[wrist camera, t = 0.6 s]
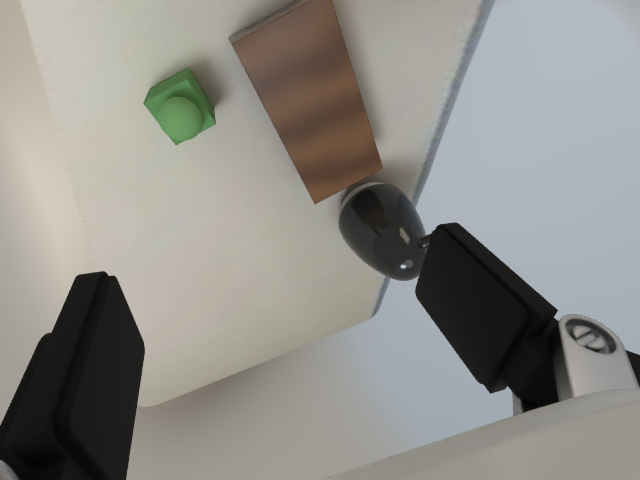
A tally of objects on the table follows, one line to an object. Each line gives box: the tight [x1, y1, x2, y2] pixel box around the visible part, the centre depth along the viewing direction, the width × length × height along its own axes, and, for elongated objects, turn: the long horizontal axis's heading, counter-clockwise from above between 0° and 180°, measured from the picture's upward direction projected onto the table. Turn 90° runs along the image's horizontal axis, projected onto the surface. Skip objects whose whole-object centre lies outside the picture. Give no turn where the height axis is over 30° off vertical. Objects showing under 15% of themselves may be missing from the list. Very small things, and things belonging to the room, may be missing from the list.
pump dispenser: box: [339, 182, 432, 281], centre depth 43 cm, size 10×10×15 cm
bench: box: [229, 0, 383, 204], centre depth 35 cm, size 18×9×6 cm, turn 23°
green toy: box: [144, 68, 216, 145], centre depth 31 cm, size 4×4×8 cm
